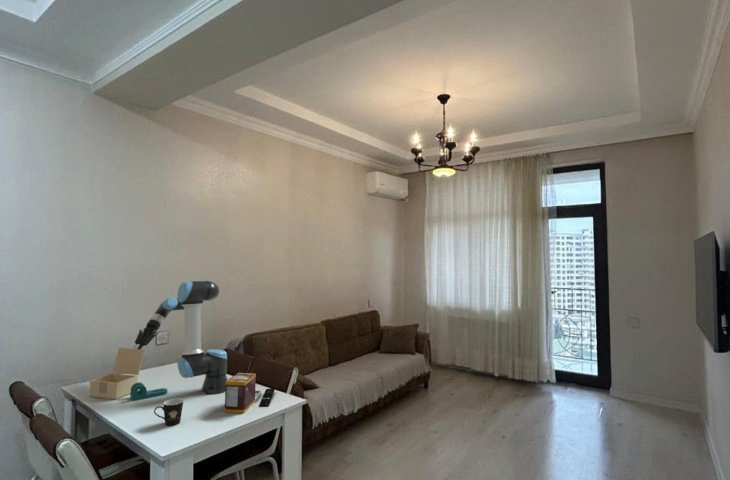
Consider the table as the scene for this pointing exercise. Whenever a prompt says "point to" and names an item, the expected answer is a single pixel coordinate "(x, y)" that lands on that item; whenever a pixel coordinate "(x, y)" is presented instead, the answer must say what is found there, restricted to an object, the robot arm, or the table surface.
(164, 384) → the table surface
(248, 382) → the supplement box
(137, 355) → the carton lid
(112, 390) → the carton
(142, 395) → the bracket
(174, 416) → the coffee mug
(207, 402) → the table surface
